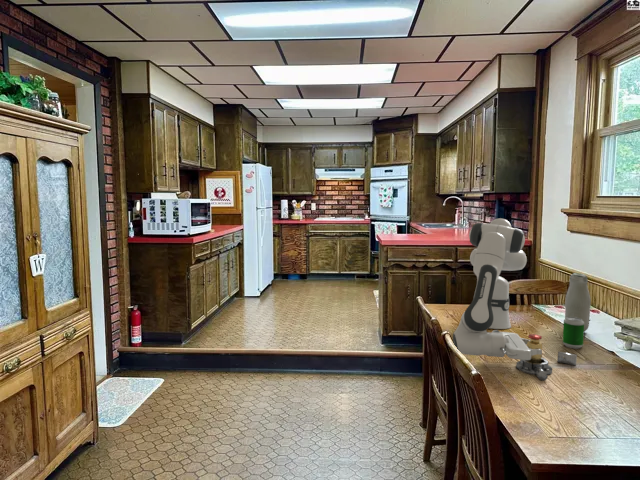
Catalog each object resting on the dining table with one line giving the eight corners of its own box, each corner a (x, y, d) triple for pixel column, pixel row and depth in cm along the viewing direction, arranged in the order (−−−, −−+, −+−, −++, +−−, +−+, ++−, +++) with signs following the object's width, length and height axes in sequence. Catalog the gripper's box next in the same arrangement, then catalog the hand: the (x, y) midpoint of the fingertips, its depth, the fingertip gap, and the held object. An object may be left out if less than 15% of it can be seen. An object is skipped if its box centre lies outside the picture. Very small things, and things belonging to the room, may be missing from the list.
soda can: (585, 349, 179) (587, 321, 178) (566, 348, 180) (567, 320, 179) (578, 343, 186) (580, 316, 185) (560, 342, 188) (561, 316, 186)
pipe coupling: (557, 363, 165) (557, 354, 164) (558, 359, 168) (559, 349, 168) (575, 367, 162) (575, 357, 161) (576, 362, 165) (576, 352, 164)
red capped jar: (523, 365, 160) (524, 335, 159) (531, 362, 163) (532, 333, 162) (536, 369, 156) (538, 339, 155) (544, 366, 159) (545, 336, 158)
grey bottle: (590, 331, 203) (593, 273, 200) (585, 336, 196) (589, 276, 193) (567, 327, 210) (570, 270, 207) (561, 331, 203) (564, 273, 200)
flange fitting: (524, 379, 150) (524, 369, 150) (512, 361, 167) (513, 353, 166) (561, 382, 148) (562, 372, 148) (546, 363, 164) (546, 355, 164)
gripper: (504, 346, 151) (546, 348, 148) (492, 328, 171) (530, 330, 168) (503, 363, 151) (546, 366, 149) (492, 343, 171) (529, 345, 169)
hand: (537, 347), depth 159 cm, fingers open, 8 cm apart
